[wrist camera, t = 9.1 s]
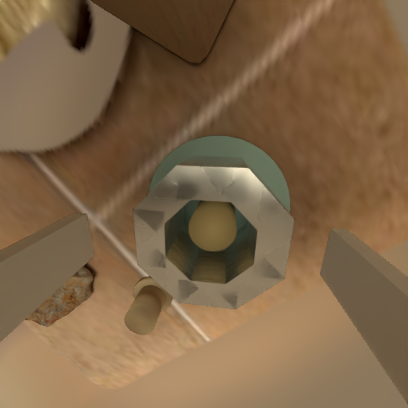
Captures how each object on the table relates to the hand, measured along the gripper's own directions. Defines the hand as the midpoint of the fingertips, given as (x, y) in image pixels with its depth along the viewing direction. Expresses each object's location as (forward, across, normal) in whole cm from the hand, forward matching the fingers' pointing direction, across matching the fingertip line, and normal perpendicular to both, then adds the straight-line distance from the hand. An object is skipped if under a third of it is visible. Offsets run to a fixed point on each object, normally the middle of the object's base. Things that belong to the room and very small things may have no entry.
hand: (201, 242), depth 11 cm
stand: (+8, -6, -12) cm, 16 cm away
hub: (+8, 0, 0) cm, 8 cm away
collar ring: (+6, 0, 0) cm, 6 cm away
